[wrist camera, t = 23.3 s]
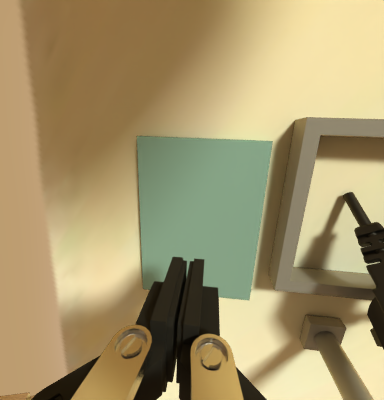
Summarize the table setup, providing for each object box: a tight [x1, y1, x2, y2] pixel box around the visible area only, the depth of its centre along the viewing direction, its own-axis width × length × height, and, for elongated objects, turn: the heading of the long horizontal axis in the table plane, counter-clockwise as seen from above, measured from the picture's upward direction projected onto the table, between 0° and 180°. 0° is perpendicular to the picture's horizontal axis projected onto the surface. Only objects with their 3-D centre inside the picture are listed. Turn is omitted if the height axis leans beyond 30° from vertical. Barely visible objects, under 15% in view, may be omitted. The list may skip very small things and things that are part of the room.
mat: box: [137, 136, 273, 300], centre depth 17 cm, size 14×10×1 cm
